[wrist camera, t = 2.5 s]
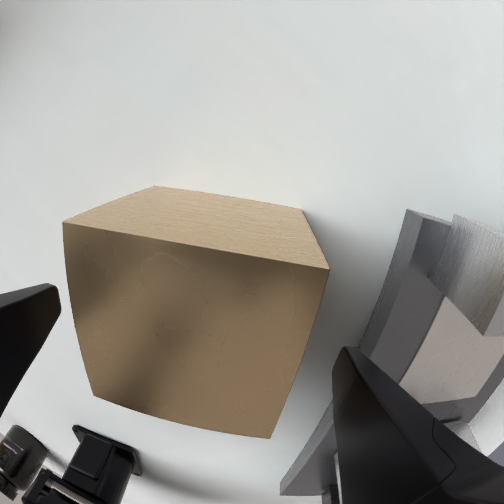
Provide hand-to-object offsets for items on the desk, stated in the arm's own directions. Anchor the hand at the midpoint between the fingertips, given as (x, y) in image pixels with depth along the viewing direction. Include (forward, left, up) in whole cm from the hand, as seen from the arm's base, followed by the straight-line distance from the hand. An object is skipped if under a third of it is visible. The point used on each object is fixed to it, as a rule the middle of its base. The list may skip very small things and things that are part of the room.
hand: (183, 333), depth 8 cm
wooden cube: (0, 0, -5) cm, 5 cm away
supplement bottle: (-34, +26, -5) cm, 43 cm away
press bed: (-8, -14, -5) cm, 17 cm away
